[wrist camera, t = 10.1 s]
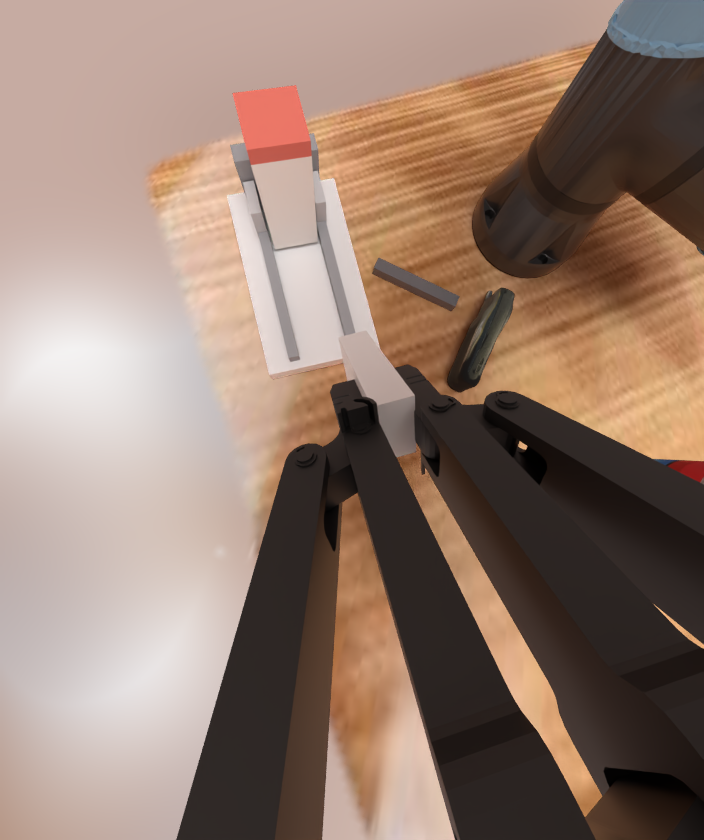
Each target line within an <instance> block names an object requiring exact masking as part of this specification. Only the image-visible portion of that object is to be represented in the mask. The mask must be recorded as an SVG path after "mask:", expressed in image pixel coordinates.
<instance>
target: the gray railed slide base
mask: <svg viewBox="0 0 704 840" xmlns="http://www.w3.org/2000/svg"><path fill="white" fill-rule="evenodd" d="M309 136H310V140H311V153H312V167H313V181H314V196H315V210H316V224H317V239H318V242H313V243H308V244H302V245H297V246H291V247H286V248H280V249H275V247H274V243H273V240H272V237H271V233H270V230H269V226H268V223H267V219H266V216H265V212H264V209H263V205H262V202H261V198H260V195H259V191H258V188H257V184H256V181H255V177H254V174H253V171H252V167H251V164H250V160H249V157H248V153H247V150H246V146H245V143H241V144H234V145H230V147H231V151H232V155H233V159H234V163H235V166H236V169H237V172H238V174H239V177H240V180H241V183H242V186H243V189H244V193H238V194H231V195H227V198H228V202H229V207H230V211H231V215H232V219H233V224H234V228H235V232H236V236H237V240H238V245H239V249H240V253H241V257H242V262H243V266H244V270H245V274H246V279H247V283H248V287H249V291H250V296H251V300H252V304H253V308H254V313H255V317H256V321H257V325H258V329H259V334H260V338H261V342H262V346H263V351H264V355H265V359H266V363H267V368H268V372H269V375H270V376H271V378H272V379H276V378H280V377H285V376H289V375H293V374H298V373H302V372H307V371H311V370H315V369H320V368H324V367H329V366H333V365H337V364H342V363H344V362H343V357H342V353H341V348H340V343H339V338H338V337H341V336H345V335H349V334H353V333H357V332H361V331H365V330H366V331H367V332H368V334H369V335H370V336H371V338H372V339H373V340H374V342H375V343H376V344H377V346H378V347H379V348H380V346H379V342H378V339H377V335H376V331H375V328H374V324H373V320H372V317H371V313H370V309H369V305H368V302H367V298H366V294H365V291H364V287H363V283H362V280H361V276H360V272H359V269H358V265H357V261H356V258H355V254H354V250H353V247H352V243H351V239H350V236H349V232H348V228H347V225H346V221H345V217H344V214H343V210H342V206H341V203H340V199H339V195H338V192H337V188H336V184H335V181H334V178H332V179H326V180H320V177H319V158H318V147H317V144H316V140H315V136H314V133H313V134H309Z"/></svg>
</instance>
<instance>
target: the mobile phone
mask: <svg viewBox="0 0 704 840" xmlns="http://www.w3.org/2000/svg"><path fill="white" fill-rule="evenodd" d="M513 300H514V293H513V292H512V291H510V290H508V289H506V288H500V289H499V290H497V291H496V292H495V293H494V294H493V295H492V291H488V293H487V295H486V297H485V300H484V303H483V305H482V307H481V309H480V311H479V314H478V316H477V317H476V318H475V319H474V320H473V322H472V323H471V325H470V327H469V330H468V332H467V334H466V337H465V339H464V341H463V343H462V345H461V347H460V350H459V352H458V355H457V357H456V359H455V362H454V364H453V366H452V368H451V371H450V373H449V376H448V384H449V386H450V387H451V388H452V389H454V390H455V391H457V392H462V391H464V390H467V389H469V388H472V387H475V386H476V385H477V384H478V383H479V380H480V377H481V375H482V372H483V369H484V367H485V365H486V362H487V360H488V358H489V356H490V353H491V351H492V349H493V346H494V344H495V342H496V339H497V337H498V335H499V334H500V332H501V331H502V329H503V327H504V326H505V324H506V323H507V321H508V319H509V317H510V315H511V312H512V309H513Z"/></svg>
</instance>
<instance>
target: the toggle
mask: <svg viewBox="0 0 704 840" xmlns="http://www.w3.org/2000/svg"><path fill="white" fill-rule="evenodd" d="M233 96H234V101H235V105H236V109H237V113H238V117H239V121H240V125H241V129H242V133H243V137H244V141H245V146H246V150H247V153H248V157H249V160H250V164H251V167H252V171H253V174H254V177H255V181H256V184H257V188H258V191H259V195H260V198H261V202H262V205H263V209H264V212H265V216H266V219H267V223H268V226H269V230H270V233H271V237H272V240H273V243H274V247H275V249H280V248H286V247H291V246H297V245H302V244H308V243H313V242H318V239H317V224H316V210H315V196H314V181H313V167H312V153H311V140H310V136H309V133H308V129H307V125H306V122H305V118H304V114H303V110H302V107H301V103H300V99H299V96H298V92H297V88H296V85H295V86H287V87H279V88H271V89H262V90H254V91H246V92H238V93H233Z"/></svg>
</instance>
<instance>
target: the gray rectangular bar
mask: <svg viewBox="0 0 704 840" xmlns="http://www.w3.org/2000/svg"><path fill="white" fill-rule="evenodd" d="M372 274H374V275H376V276H378V277H380V278H382V279H384V280H386V281H389V282H391V283H393V284H395V285H397V286H399V287H401V288H403V289H405V290H407V291H410V292H412V293H414V294H416V295H418V296H420V297H422V298H424V299H426V300H428V301H431V302H433V303H435V304H437V305H439V306H441V307H443V308H445V309H447V310H449V311H452V310H453V309H454V308H455V306H456V304H457V301H458V299H459V297H460V296H458V295H456V294H453V293H451V292H449V291H447V290H445V289H443V288H441V287H439V286H437V285H435V284H433V283H430V282H428V281H426V280H424V279H422V278H420V277H418V276H416V275H414V274H412V273H410V272H408V271H405V270H403V269H401V268H399V267H397V266H395V265H393V264H391V263H389V262H387V261H385V260H383V259H380V258H378V260H377V262H376V264H375V266H374V269H373V273H372Z"/></svg>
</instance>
